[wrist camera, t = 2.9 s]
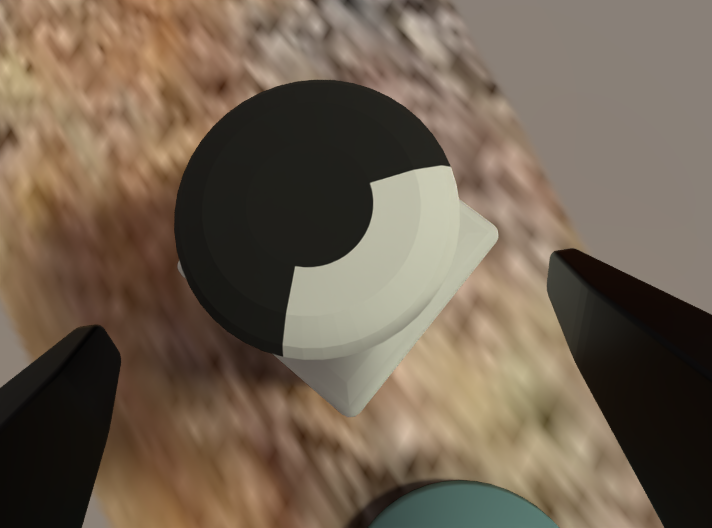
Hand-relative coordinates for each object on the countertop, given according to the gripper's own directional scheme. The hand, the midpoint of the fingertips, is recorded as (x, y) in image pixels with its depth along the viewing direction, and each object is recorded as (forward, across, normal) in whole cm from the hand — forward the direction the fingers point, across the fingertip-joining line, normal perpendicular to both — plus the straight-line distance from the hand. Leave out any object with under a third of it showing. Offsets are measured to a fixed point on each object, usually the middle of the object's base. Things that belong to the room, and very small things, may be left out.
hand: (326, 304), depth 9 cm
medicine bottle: (+10, 0, +7) cm, 12 cm away
